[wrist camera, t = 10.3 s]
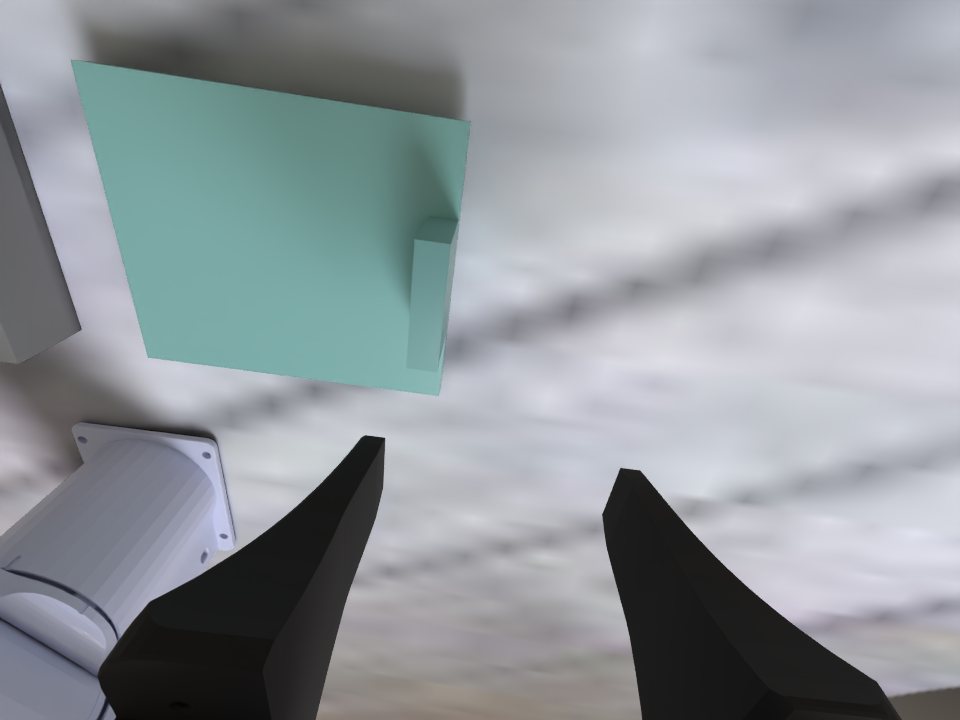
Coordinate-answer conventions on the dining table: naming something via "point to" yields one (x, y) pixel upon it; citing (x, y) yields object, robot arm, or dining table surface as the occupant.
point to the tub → (27, 261)
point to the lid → (280, 225)
